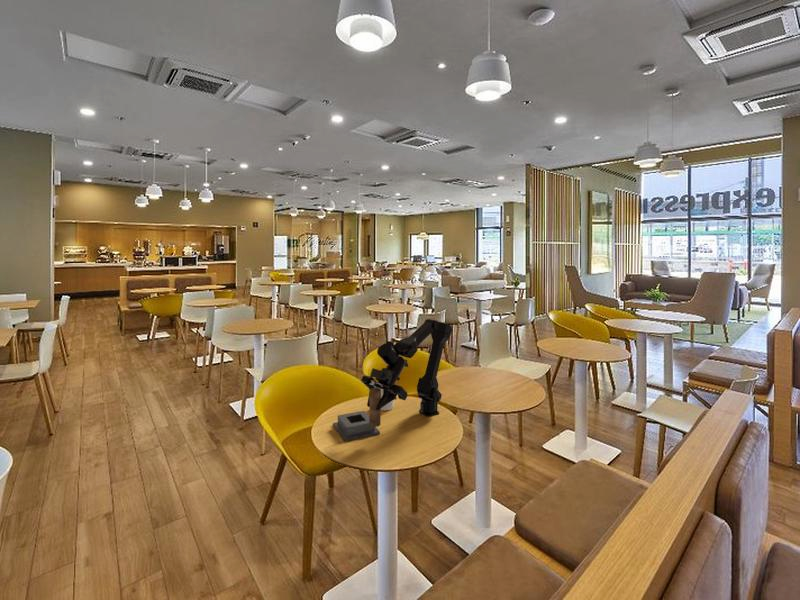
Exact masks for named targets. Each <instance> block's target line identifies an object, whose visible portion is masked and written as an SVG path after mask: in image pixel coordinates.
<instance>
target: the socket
mask: <svg viewBox="0 0 800 600" xmlns="http://www.w3.org/2000/svg"><path fill="white" fill-rule="evenodd" d="M332 426H334V427H333V428H334V429H335V431H336V432H337V434H339V436H340V438H341V439H342V440H343V442H344V441H346V442H349V441H354V440H359V439H363V438H369V437H373V436H376V435H381V431H380V430H379V429H378V427H372V426H370V425H369V413H367V412H366V411H365V410H361V411H356V412H350V413H344V414H337V422H332Z"/></svg>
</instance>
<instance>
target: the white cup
mask: <svg viewBox="0 0 800 600" xmlns="http://www.w3.org/2000/svg"><path fill="white" fill-rule="evenodd" d="M379 389H380V388H379ZM382 396H383V389H381V398H382ZM394 402H395V399H394V400H393V401H391V402H389V403H388V404H386V405H385V406H383V407H382V408H381V411H383V410H388V411H392V410H393V409H394ZM392 408H393V409H392Z"/></svg>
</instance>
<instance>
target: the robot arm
mask: <svg viewBox="0 0 800 600" xmlns="http://www.w3.org/2000/svg"><path fill="white" fill-rule="evenodd" d="M452 332H453V327H452V325H451V324H450V323H448V322H443V321H439V320H437V319H432V318H426V319H425V321H424V323H422V324H421V325H420V326H419V327H418V328H417V329H416V330H414V332H412V333H411V335H409V336H407V337H403V338H400V339H399V340H398V341H397V342H396V343H393V341H392V340H391V341H390V340H387V342H385V343H383V344H381V345H380V346H379V347H378V348H377V350H376V352H377V353H376V354H377V355H378V357H379V358H380V359H381V360H382V361H383V362H384V363H385V364H386V367H382V368H381V370H380V369H378V368H374V367H372V369H371V371H370V375H366V374H365V375H363V376H362V377H361V379H360V381H361V383H363V384H364V386H365V387H367V388H368V390H369V392H368V398H367V403H366V406H367V407H368V408H369V405H370V389H371V388H380V389H383V396H382V398H381V399H380V401H379V403H378V405H377V407H376V410H379V409H381V408H382V407H383V406H385V405H386V404H388V403H389V402H391V401H393V400H394V401H395V400H397V398H398V399H399V400H402V401H406V400H407V398H408V392H407V391H406V389H405V388H404V387H403V386H401V385H397V384H396V383H397V381H400V379H401V378H400V375H401V374H402V371H403V370H404V367H405V368H409V363H408V360H407V359H405V358H408V359H412V358H413V357H414V356H415V355H416V353H417V352H418V348H419V346H420V344H422V342H424V341H425V340H426V339H427V337H429V336H431V339H432V344H431V348H430V352H429V355H428V360H427V364H426V368H425V373H424V375H423V376H422V377H418V381H417V385H416V392H417V395H418V398H420V399H421V401H420V403H419V404H420V408H419V410H418V411H419V412H420V413H422V414H423V415H424V416H426V417H430V416H435V415H439V414H440V412H439V410H438V406H439V402H440V400H442V395H443V394H442V393H441V391H440V390H439V381H438V378H437V376H438V372H439V368H440V364H441V358H442V355H443V351H444V347H445V344H446V343H447V342H448V340H450V338H451V335H452V334H453V333H452Z"/></svg>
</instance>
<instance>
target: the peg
mask: <svg viewBox="0 0 800 600" xmlns="http://www.w3.org/2000/svg"><path fill="white" fill-rule="evenodd" d="M380 399H381V389H379V388H371V389H370V405H369V407H368V408H369V411H368V412H369V413H368V415H369V425H370V426H372V427H376V428H378V427H380V426H381V411H382V410H381V409H379V410H376V407H377V405H378V403H379V401H380Z"/></svg>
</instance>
